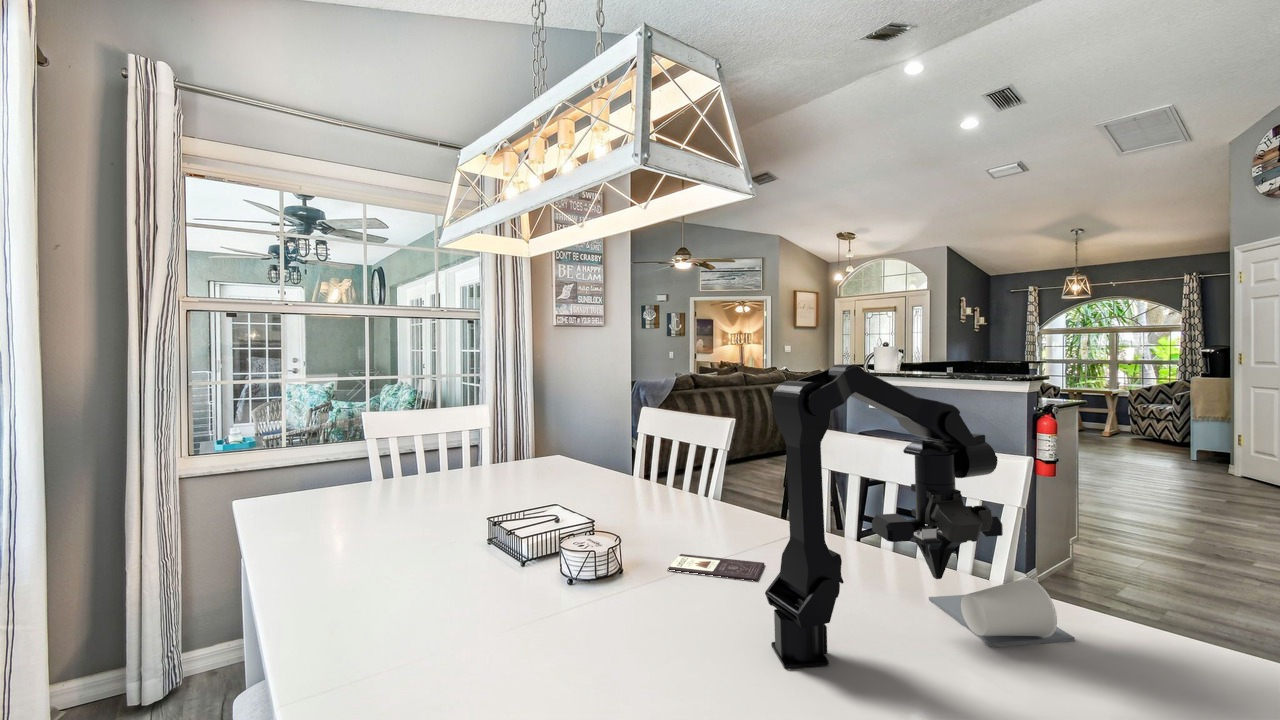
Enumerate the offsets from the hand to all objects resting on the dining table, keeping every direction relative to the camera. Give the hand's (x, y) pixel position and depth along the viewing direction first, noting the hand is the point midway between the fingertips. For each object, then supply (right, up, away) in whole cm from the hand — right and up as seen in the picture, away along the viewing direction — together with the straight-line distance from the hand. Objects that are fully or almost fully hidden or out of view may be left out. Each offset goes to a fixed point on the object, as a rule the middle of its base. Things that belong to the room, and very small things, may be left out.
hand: (937, 578), depth 92 cm
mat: (+10, -7, +1) cm, 12 cm away
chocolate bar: (-32, -8, +26) cm, 42 cm away
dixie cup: (+2, -3, -7) cm, 7 cm away
